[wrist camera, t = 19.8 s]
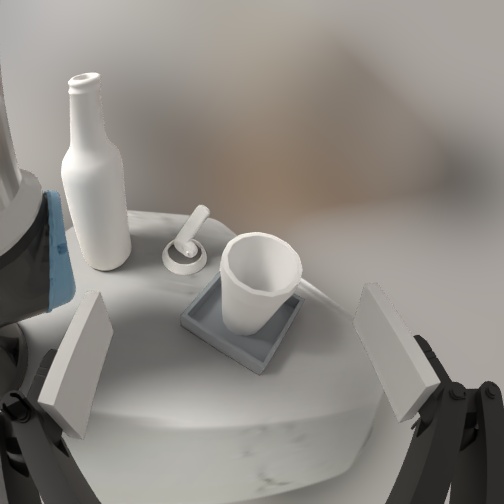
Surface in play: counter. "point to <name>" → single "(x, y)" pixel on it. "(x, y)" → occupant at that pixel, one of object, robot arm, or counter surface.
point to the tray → (220, 337)
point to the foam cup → (256, 280)
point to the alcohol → (95, 179)
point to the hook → (188, 244)
